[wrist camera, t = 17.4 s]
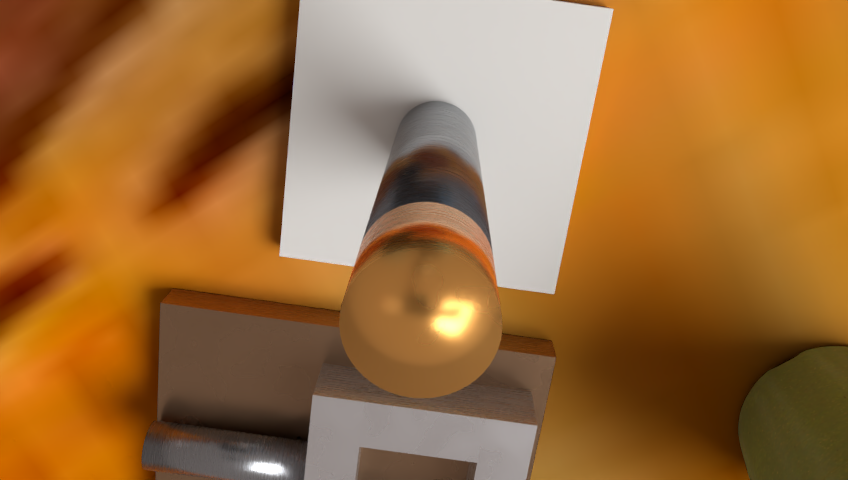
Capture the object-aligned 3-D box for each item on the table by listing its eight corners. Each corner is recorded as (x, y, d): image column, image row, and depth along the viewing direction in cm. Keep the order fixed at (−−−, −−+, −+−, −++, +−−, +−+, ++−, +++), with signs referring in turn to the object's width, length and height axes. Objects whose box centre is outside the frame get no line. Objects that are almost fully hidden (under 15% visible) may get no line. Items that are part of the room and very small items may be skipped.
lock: (172, 288, 33) (136, 330, 29) (551, 340, 33) (564, 389, 30) (165, 522, 37) (132, 586, 33) (503, 568, 37) (509, 636, 34)
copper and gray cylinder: (387, 167, 30) (322, 375, 15) (408, 91, 29) (362, 230, 14) (462, 189, 30) (474, 415, 15) (486, 114, 29) (524, 276, 14)
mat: (307, -36, 29) (302, -36, 28) (608, 7, 29) (613, 9, 28) (284, 247, 32) (279, 256, 31) (551, 284, 33) (554, 294, 32)
